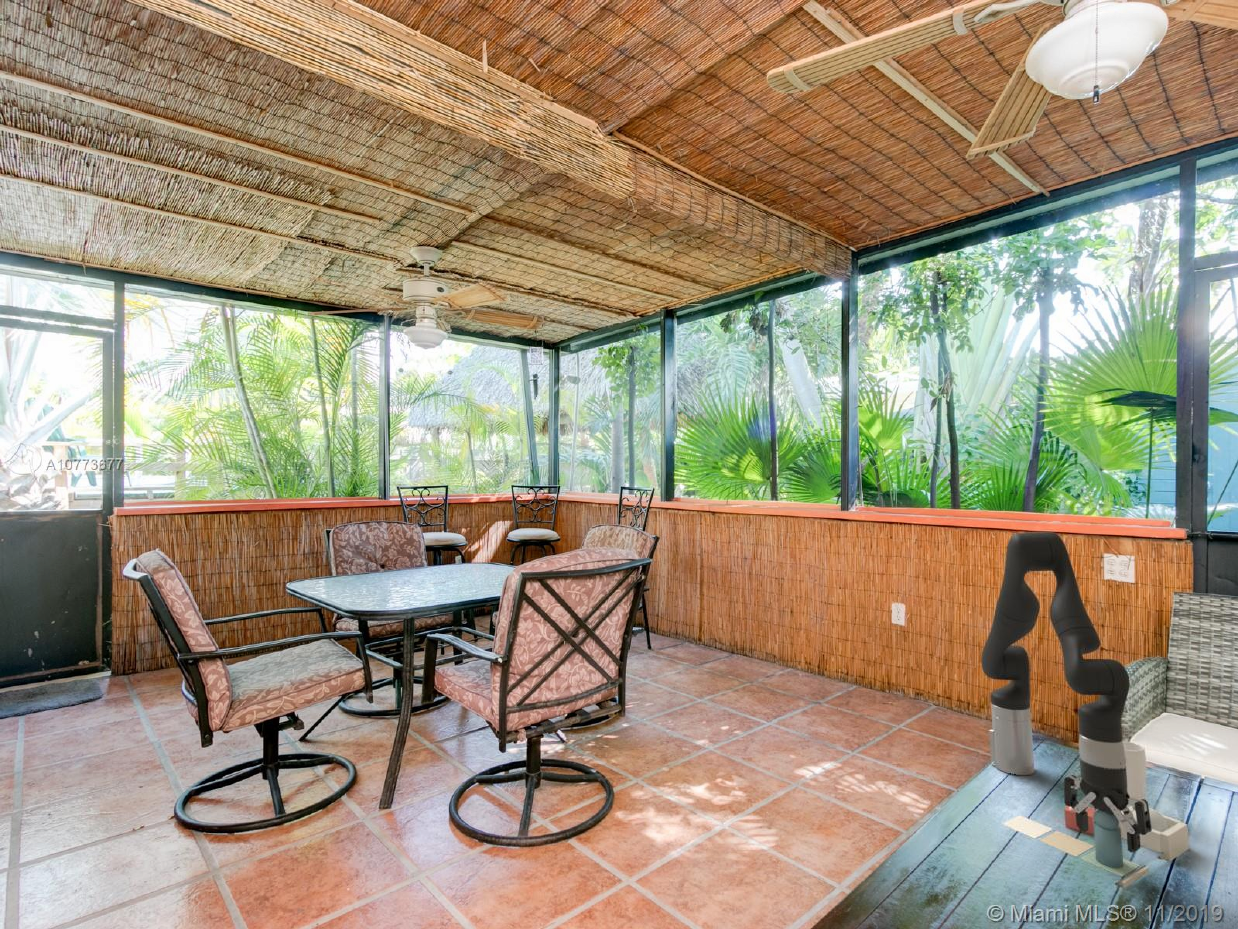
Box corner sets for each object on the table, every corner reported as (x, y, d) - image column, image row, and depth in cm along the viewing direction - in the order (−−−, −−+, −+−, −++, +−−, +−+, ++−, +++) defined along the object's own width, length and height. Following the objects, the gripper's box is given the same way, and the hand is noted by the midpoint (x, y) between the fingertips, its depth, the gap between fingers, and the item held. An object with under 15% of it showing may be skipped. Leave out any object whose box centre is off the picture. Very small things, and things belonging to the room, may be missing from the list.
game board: (993, 829, 142) (993, 823, 142) (1019, 817, 147) (1019, 812, 147) (1123, 888, 120) (1123, 881, 120) (1149, 872, 125) (1148, 865, 125)
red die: (1066, 833, 140) (1064, 807, 140) (1069, 824, 144) (1067, 798, 144) (1094, 840, 137) (1092, 814, 137) (1096, 831, 140) (1094, 805, 141)
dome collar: (1112, 840, 137) (1110, 816, 137) (1135, 827, 141) (1133, 804, 142) (1168, 862, 128) (1166, 837, 128) (1190, 848, 133) (1188, 823, 133)
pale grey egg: (1127, 839, 136) (1124, 806, 136) (1140, 831, 139) (1138, 799, 139) (1161, 853, 131) (1158, 818, 131) (1174, 844, 134) (1172, 810, 134)
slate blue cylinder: (1091, 859, 128) (1087, 808, 128) (1102, 853, 130) (1098, 802, 130) (1116, 870, 124) (1112, 817, 124) (1127, 864, 126) (1123, 811, 126)
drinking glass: (1136, 803, 152) (1131, 740, 153) (1157, 817, 145) (1152, 751, 146) (1106, 803, 152) (1101, 739, 153) (1125, 817, 146) (1121, 751, 147)
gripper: (1054, 751, 132) (1059, 830, 132) (1134, 776, 120) (1141, 864, 119) (1073, 743, 136) (1078, 820, 135) (1153, 767, 123) (1160, 852, 123)
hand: (1107, 840), depth 127 cm, fingers open, 8 cm apart
